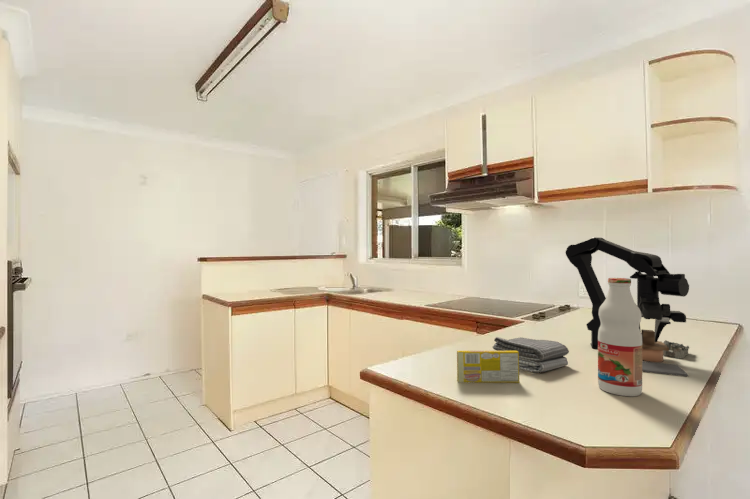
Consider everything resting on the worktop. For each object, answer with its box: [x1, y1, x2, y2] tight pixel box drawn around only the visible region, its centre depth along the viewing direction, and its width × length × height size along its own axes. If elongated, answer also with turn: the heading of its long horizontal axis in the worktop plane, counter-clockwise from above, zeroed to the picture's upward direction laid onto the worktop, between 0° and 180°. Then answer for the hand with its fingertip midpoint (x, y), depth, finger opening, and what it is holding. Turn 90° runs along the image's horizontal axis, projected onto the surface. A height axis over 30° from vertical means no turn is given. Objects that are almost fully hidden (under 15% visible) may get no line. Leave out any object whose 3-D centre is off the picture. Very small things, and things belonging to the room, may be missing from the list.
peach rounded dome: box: [642, 349, 664, 363], centre depth 125 cm, size 8×8×4 cm
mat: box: [642, 360, 689, 377], centre depth 114 cm, size 11×10×1 cm
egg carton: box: [662, 340, 690, 359], centre depth 130 cm, size 11×8×4 cm
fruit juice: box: [597, 277, 643, 397], centre depth 97 cm, size 9×9×28 cm
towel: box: [492, 336, 570, 374], centre depth 120 cm, size 15×18×8 cm
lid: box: [640, 328, 669, 351], centre depth 125 cm, size 9×9×5 cm
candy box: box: [456, 350, 520, 384], centre depth 103 cm, size 16×2×8 cm, turn 89°
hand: (647, 341), depth 125 cm, fingers open, 4 cm apart
